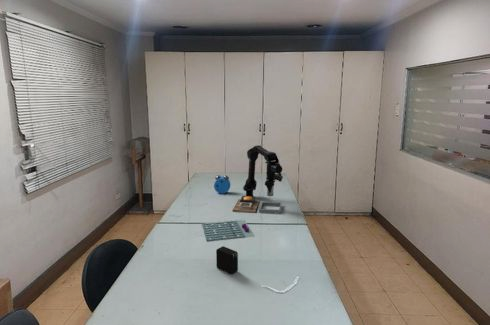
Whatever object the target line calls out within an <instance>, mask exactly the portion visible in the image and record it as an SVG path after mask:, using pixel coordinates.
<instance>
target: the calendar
mask: <svg viewBox="0 0 490 325" xmlns="http://www.w3.org/2000/svg"><path fill="white" fill-rule="evenodd" d="M201 227H202V230H203V233H204V236H205V240H206V242H213V241H222V240H231V239H233V240H234V239H240V238H249V237H251V238H252V237H255V234H254V232H253V231H252V229H251V227H250V226H249V224H248V222H247V221H246V220H245V219H244V220H243V219H235V220H224V221H217V222H212V221H211V222H205V223H201Z"/></svg>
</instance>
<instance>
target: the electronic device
mask: <svg viewBox="0 0 490 325" xmlns="http://www.w3.org/2000/svg"><path fill="white" fill-rule="evenodd" d="M215 254H216V258H215V259H216V260H215V262H216V268H217V269H218V268H219V269H218V270H220V269H221V270H220V271H222V270H223V271H222V272H224V271H225V272H224V273H226V272H227V274H228V275H231V274H232V275H234V274H235V273H237V272H238V271H239V253H238V252H237V251H236V250H234V249H232V248H229V247H227V246H224V245H223V246H221V247H218V248H216V251H215Z"/></svg>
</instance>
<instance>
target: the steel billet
mask: <svg viewBox="0 0 490 325" xmlns="http://www.w3.org/2000/svg"><path fill="white" fill-rule="evenodd" d="M274 188H275V185H274V186H272V190H271V193H269V191H268V189H267V188H266V190H267V192H266V195H267V197H273V196H274Z"/></svg>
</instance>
